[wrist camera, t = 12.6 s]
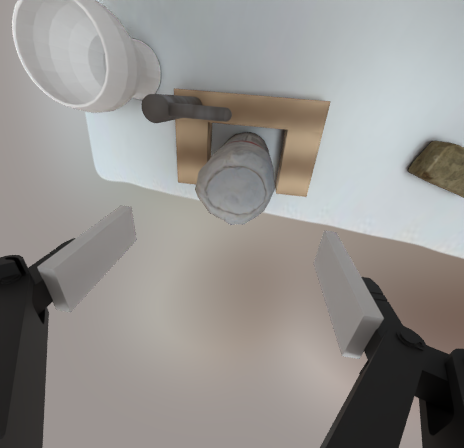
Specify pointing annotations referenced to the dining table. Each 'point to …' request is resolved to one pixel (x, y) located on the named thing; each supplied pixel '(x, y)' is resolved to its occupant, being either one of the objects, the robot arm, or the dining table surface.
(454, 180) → the stone block
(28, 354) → the robot arm
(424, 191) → the dining table surface
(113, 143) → the dining table surface
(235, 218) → the spray can
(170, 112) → the wooden stand
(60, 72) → the cup
